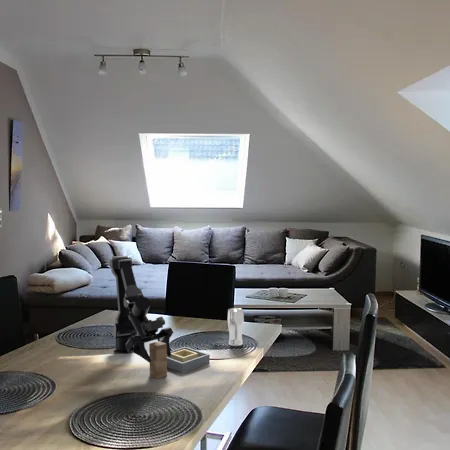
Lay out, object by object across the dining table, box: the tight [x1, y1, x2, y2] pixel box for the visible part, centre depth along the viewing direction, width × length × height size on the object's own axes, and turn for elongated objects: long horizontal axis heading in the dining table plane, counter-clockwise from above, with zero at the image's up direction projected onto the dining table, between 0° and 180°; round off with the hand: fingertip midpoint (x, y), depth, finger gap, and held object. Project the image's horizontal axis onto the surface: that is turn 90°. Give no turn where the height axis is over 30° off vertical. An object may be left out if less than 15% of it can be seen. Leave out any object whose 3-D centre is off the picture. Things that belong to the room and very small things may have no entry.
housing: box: [167, 346, 211, 374], centre depth 211 cm, size 14×14×4 cm
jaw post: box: [148, 340, 168, 380], centre depth 198 cm, size 4×4×12 cm
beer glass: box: [227, 307, 245, 347], centre depth 234 cm, size 7×7×15 cm
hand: (160, 358), depth 197 cm, fingers open, 9 cm apart
